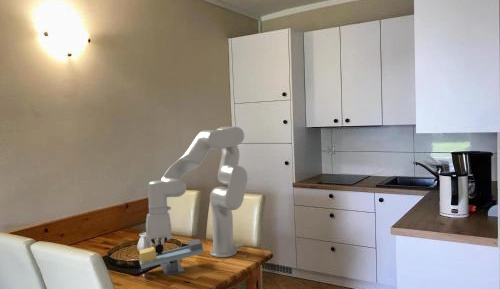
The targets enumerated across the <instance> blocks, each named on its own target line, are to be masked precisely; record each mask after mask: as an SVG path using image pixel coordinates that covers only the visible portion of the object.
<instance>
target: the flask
mask: <svg viewBox="0 0 500 289" xmlns="http://www.w3.org/2000/svg"><path fill="white" fill-rule="evenodd" d="M151 247H153V246H152V242H148V241H146V235H145V236H143V247H142V249H147V248H151Z"/></svg>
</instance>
